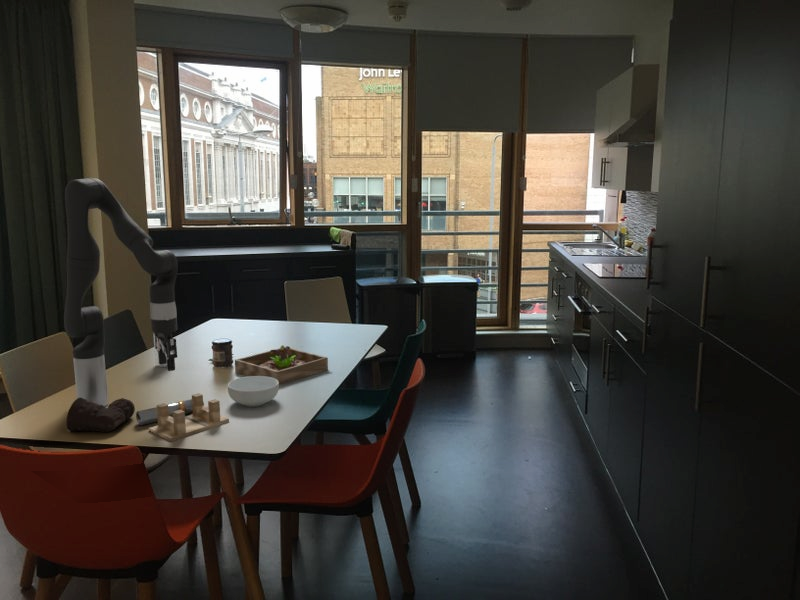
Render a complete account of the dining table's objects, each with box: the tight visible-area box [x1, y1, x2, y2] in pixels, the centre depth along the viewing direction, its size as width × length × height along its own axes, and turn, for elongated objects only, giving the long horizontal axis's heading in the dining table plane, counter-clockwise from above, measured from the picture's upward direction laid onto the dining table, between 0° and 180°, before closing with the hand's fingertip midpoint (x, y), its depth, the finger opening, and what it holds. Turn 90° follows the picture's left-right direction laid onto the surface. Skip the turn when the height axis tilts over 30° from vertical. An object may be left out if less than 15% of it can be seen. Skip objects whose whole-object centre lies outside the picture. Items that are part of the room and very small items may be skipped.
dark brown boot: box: [65, 397, 136, 433], centre depth 196 cm, size 10×15×15 cm
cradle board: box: [148, 392, 230, 442], centre depth 195 cm, size 12×20×8 cm, turn 141°
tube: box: [135, 398, 205, 426], centre depth 203 cm, size 20×4×4 cm, turn 131°
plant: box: [259, 344, 307, 371], centre depth 252 cm, size 20×20×11 cm
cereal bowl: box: [227, 376, 280, 408], centre depth 217 cm, size 17×17×7 cm
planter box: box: [234, 346, 329, 386], centre depth 253 cm, size 26×26×5 cm
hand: (166, 367), depth 199 cm, fingers open, 8 cm apart
